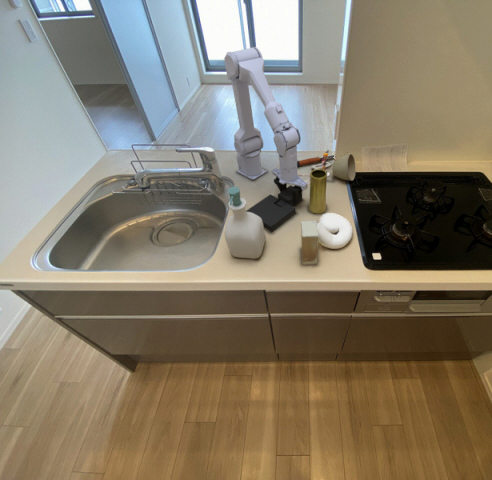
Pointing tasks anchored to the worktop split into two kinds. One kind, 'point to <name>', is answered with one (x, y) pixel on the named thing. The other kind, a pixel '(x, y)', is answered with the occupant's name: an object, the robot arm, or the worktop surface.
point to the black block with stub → (287, 197)
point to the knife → (310, 161)
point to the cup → (344, 167)
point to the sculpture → (334, 230)
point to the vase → (318, 191)
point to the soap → (319, 166)
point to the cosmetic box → (309, 241)
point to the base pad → (272, 212)
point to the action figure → (325, 162)
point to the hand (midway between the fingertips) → (290, 198)
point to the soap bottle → (243, 229)
